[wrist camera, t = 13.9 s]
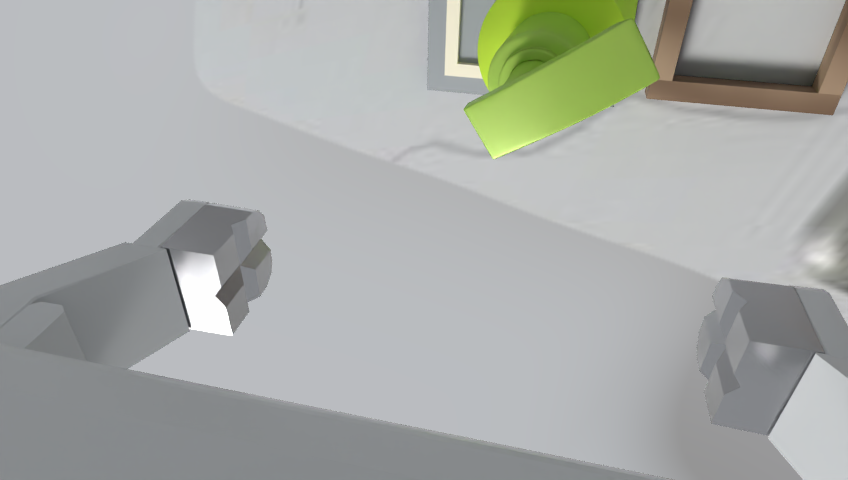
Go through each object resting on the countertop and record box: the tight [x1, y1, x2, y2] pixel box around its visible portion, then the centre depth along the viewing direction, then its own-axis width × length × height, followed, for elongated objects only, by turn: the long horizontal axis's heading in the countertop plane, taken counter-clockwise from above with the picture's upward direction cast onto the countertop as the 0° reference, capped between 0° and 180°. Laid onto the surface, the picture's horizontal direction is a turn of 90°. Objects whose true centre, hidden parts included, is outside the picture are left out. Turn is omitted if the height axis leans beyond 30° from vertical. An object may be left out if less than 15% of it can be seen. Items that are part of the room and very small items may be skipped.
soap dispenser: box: [464, 0, 660, 159], centre depth 25 cm, size 6×7×20 cm
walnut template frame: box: [645, 0, 848, 115], centre depth 32 cm, size 11×10×1 cm
